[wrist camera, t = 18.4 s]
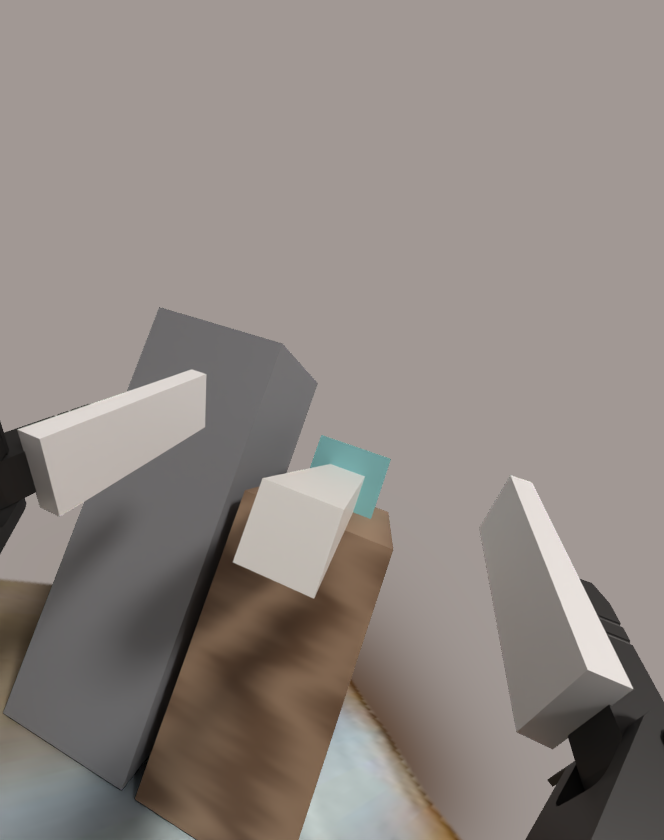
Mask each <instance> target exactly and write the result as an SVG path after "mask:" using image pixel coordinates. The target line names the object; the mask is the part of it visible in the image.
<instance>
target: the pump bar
mask: <svg viewBox="0 0 664 840" xmlns="http://www.w3.org/2000/svg"><path fill="white" fill-rule="evenodd" d="M390 460H391V459H389V458H387V457H384V456H381V455H378V454H375V453H372V452H370V451H367V450H364V449H361V448H358V447H355V446H352V445H349V444H346V443H343V442H341V441H338V440H335V439H332V438H329V437H326V436H323V435H322V436H321V438H320V441H319V444H318V447H317V449H316V452H315V455H314V458H313V461H312V464H311V467H310V468H309V469H304V470H299V471H295V472H290V473H285V474H280V475H275V476H271V477H266V478H262V481H261V484H260V487H259V490H258V492H257V495H256V498H255V501H254V504H253V506H252V509H251V512H250V515H249V518H248V521H247V523H246V526H245V529H244V532H243V535H242V537H241V540H240V543H239V546H238V549H237V552H236V554H235V557H234V560H233V563H236V564H238V565H240V566H242V567H245V568H247V569H249V570H251V571H253V572H256V573H258V574H260V575H262V576H265V577H267V578H269V579H271V580H273V581H276V582H278V583H280V584H282V585H285V586H287V587H289V588H291V589H293V590H296V591H298V592H300V593H302V594H304V595H307V596H309V597H311V598H313V599H314V598H315V595H316V593H317V591H318V589H319V587H320V584H321V582H322V580H323V578H324V575H325V573H326V571H327V569H328V567H329V564H330V562H331V560H332V558H333V556H334V553H335V551H336V549H337V547H338V544H339V542H340V540H341V538H342V536H343V533H344V531H345V529H346V527H347V524H348V522H349V520H350V518H351V516H352V513H353V512H354V513H356V514H359V515H361V516H364V517H367V518H369V519H371V517H372V514H373V511H374V508H375V505H376V502H377V499H378V496H379V493H380V490H381V487H382V484H383V481H384V478H385V475H386V472H387V469H388V466H389V463H390Z"/></svg>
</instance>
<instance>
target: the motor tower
mask: <svg viewBox="0 0 664 840" xmlns="http://www.w3.org/2000/svg"><path fill="white" fill-rule="evenodd" d="M191 369H192V370H195V371H198V372H201V373H204V374H206V410H205V428H203V429H201V430H200V431H198V432H196V433H195V434H193V435H192V436H190V437H188V438H187V439H185V440H183V441H182V442H180V443H179V444H177V445H175V446H174V447H172V448H170V449H169V450H167V451H166V452H164V453H162V454H161V455H159V456H158V457H156V458H154V459H153V460H151V461H149V462H148V463H146V464H145V465H143V466H141V467H140V468H138V469H136V470H135V471H133V472H132V473H130V474H128V475H127V476H125V477H123V478H122V479H120V480H119V481H117V482H115V483H114V484H112V485H110V486H109V487H107V488H106V489H104V490H102V491H101V492H99V493H97V494H96V495H94V496H93V497H91V498H89V499H88V500H86V501H85V502H84V504H83V507H82V510H81V512H80V515H79V517H78V520H77V522H76V525H75V528H74V530H73V533H72V535H71V538H70V541H69V543H68V546H67V548H66V551H65V554H64V556H63V559H62V562H61V564H60V567H59V569H58V572H57V574H56V577H55V580H54V582H53V585H52V587H51V590H50V593H49V595H48V598H47V600H46V603H45V606H44V608H43V611H42V613H41V616H40V619H39V621H38V624H37V626H36V629H35V632H34V634H33V637H32V639H31V642H30V645H29V647H28V650H27V652H26V655H25V658H24V660H23V663H22V665H21V668H20V671H19V673H18V676H17V678H16V681H15V684H14V686H13V689H12V691H11V694H10V697H9V699H8V702H7V704H6V707H5V710H4V712H3V713H4V714H5V715H7V716H8V717H10V718H11V719H13V720H15V721H16V722H18V723H19V724H21V725H22V726H24V727H25V728H27V729H28V730H30V731H31V732H33V733H34V734H36V735H38V736H39V737H41V738H42V739H44V740H45V741H47V742H48V743H50V744H51V745H53V746H54V747H56V748H57V749H59V750H60V751H62V752H64V753H65V754H67V755H68V756H70V757H71V758H73V759H74V760H76V761H77V762H79V763H80V764H82V765H83V766H85V767H86V768H88V769H90V770H91V771H93V772H94V773H96V774H97V775H99V776H100V777H102V778H103V779H105V780H106V781H108V782H109V783H111V784H112V785H114V786H116V787H117V788H119V789H120V790H122V789H123V788H124V787H125V785H126V784H127V783H128V782H129V780H130V779H131V778H132V776H133V775H134V774H135V772H136V771H137V770H138V769H139V767H140V766H141V765H142V763H143V762H144V761H145V759H146V758H147V757H148V756H149V754H150V753H151V752H152V749H153V746H154V744H155V741H156V738H157V735H158V732H159V730H160V727H161V724H162V721H163V718H164V716H165V713H166V710H167V707H168V704H169V702H170V699H171V696H172V693H173V690H174V688H175V685H176V682H177V679H178V676H179V674H180V671H181V668H182V665H183V662H184V660H185V657H186V654H187V651H188V648H189V646H190V643H191V640H192V637H193V634H194V631H195V629H196V626H197V623H198V620H199V617H200V615H201V612H202V609H203V606H204V603H205V601H206V598H207V595H208V592H209V589H210V587H211V584H212V581H213V578H214V575H215V573H216V570H217V567H218V564H219V561H220V559H221V556H222V553H223V550H224V547H225V545H226V542H227V539H228V536H229V533H230V531H231V528H232V525H233V522H234V519H235V517H236V514H237V511H238V508H239V505H240V503H241V500H242V497H243V494H244V491H245V490H248V489H251V488H255V487H259V486H260V484H261V481H262V478H266V477H271V476H275V475H280V474H285V473H286V472H287V469H288V467H289V464H290V461H291V458H292V455H293V453H294V450H295V447H296V444H297V441H298V438H299V435H300V433H301V429H302V427H303V424H304V421H305V418H306V415H307V412H308V410H309V407H310V403H311V401H312V398H313V395H314V392H315V390H316V387H317V382H316V381H315V380H314V379H313V378H312V376H310V374H309V373H308V372H307V371H306V370H305V369H304V367H303V366H302V365H301V364H300V363H299V362H298V361H297V360H296V358H295V357H294V356H293V355H292V354H291V353H290V352H289V351H288V350H287V348H286V347H285V346H284V345H283V344H282V343H278V342H275V341H272V340H268V339H265V338H262V337H258V336H255V335H251V334H248V333H245V332H241V331H238V330H234V329H231V328H228V327H225V326H221V325H218V324H214V323H211V322H208V321H204V320H201V319H197V318H194V317H191V316H187V315H184V314H181V313H177V312H174V311H170V310H167V309H164V308H160V307H159V310H158V312H157V315H156V317H155V320H154V322H153V325H152V328H151V330H150V333H149V335H148V338H147V341H146V343H145V346H144V348H143V351H142V354H141V357H140V359H139V362H138V364H137V367H136V369H135V372H134V375H133V377H132V380H131V382H130V385H129V387H128V390H127V392H128V391H130V390H133V389H136V388H139V387H142V386H145V385H148V384H151V383H154V382H157V381H159V380H162V379H165V378H168V377H171V376H174V375H177V374H180V373H183V372H185V371H188V370H191Z"/></svg>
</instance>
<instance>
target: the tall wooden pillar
mask: <svg viewBox="0 0 664 840" xmlns="http://www.w3.org/2000/svg"><path fill="white" fill-rule="evenodd" d="M259 487H260V486H259ZM259 487H255V488H251V489H248V490H245V491H244V494H243V497H242V500H241V503H240V505H239V508H238V511H237V514H236V517H235V519H234V522H233V525H232V528H231V531H230V533H229V536H228V539H227V542H226V545H225V547H224V550H223V553H222V556H221V559H220V561H219V564H218V567H217V570H216V573H215V575H214V578H213V581H212V584H211V587H210V589H209V592H208V595H207V598H206V601H205V603H204V606H203V609H202V612H201V615H200V617H199V620H198V623H197V626H196V629H195V631H194V634H193V637H192V640H191V643H190V646H189V648H188V651H187V654H186V657H185V660H184V662H183V665H182V668H181V671H180V674H179V676H178V679H177V682H176V685H175V688H174V690H173V693H172V696H171V699H170V702H169V704H168V707H167V710H166V713H165V716H164V718H163V721H162V724H161V727H160V730H159V732H158V735H157V738H156V741H155V744H154V746H153V749H152V752H151V755H150V758H149V760H148V763H147V766H146V769H145V772H144V774H143V777H142V780H141V783H140V786H139V788H138V791H137V794H136V797H135V800H137V801H139V802H140V803H142V804H143V805H145V806H146V807H148V808H149V809H151V810H152V811H154V812H155V813H157V814H158V815H160V816H161V817H163V818H165V819H166V820H168V821H169V822H171V823H172V824H174V825H175V826H177V827H178V828H180V829H181V830H183V831H184V832H186V833H187V834H189V835H191V836H192V837H194V838H195V839H197V840H298V839H299V836H300V833H301V830H302V827H303V824H304V821H305V818H306V815H307V812H308V809H309V806H310V803H311V800H312V796H313V793H314V790H315V787H316V784H317V781H318V778H319V775H320V772H321V769H322V766H323V763H324V760H325V757H326V754H327V751H328V748H329V744H330V741H331V738H332V735H333V732H334V729H335V726H336V723H337V720H338V717H339V714H340V711H341V708H342V705H343V702H344V699H345V696H346V692H347V689H348V686H349V683H350V680H351V677H352V674H353V671H354V668H355V665H356V662H357V659H358V656H359V652H360V650H361V646H362V644H363V640H364V637H365V634H366V631H367V628H368V625H369V622H370V619H371V616H372V613H373V610H374V607H375V604H376V601H377V598H378V594H379V592H380V588H381V585H382V582H383V579H384V576H385V573H386V570H387V567H388V564H389V561H390V558H391V555H392V552H393V544H392V538H391V530H390V522H389V515H388V512H386V511H384V510H381V509H378V508H376V507H375V508H374V511H373V514H372V517H371V519H369V518H367V517H364V516H361V515H359V514H356V513H354V512H353V513H352V516H351V518H350V520H349V522H348V524H347V527H346V529H345V531H344V533H343V536H342V538H341V540H340V542H339V544H338V547H337V549H336V551H335V553H334V556H333V558H332V560H331V562H330V564H329V567H328V569H327V571H326V573H325V575H324V578H323V580H322V582H321V584H320V587H319V589H318V591H317V593H316V595H315V598H314V599H313V598H311V597H309V596H307V595H304V594H302V593H300V592H298V591H296V590H293V589H291V588H289V587H287V586H285V585H282V584H280V583H278V582H276V581H273V580H271V579H269V578H267V577H265V576H262V575H260V574H258V573H256V572H253V571H251V570H249V569H247V568H245V567H242V566H240V565H238V564H236V563H233V560H234V557H235V554H236V552H237V549H238V546H239V543H240V540H241V537H242V535H243V532H244V529H245V526H246V523H247V521H248V518H249V515H250V512H251V509H252V506H253V504H254V501H255V498H256V495H257V492H258V490H259Z"/></svg>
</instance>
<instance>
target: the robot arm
mask: <svg viewBox="0 0 664 840" xmlns="http://www.w3.org/2000/svg"><path fill="white" fill-rule="evenodd" d="M205 410H206V374H204V373H201V372H198V371H195V370H192V369H191V370H188V371H185V372H183V373H180V374H177V375H174V376H171V377H168V378H165V379H162V380H159V381H157V382H154V383H151V384H148V385H145V386H142V387H139V388H136V389H133V390H130V391H128V392H125V393H122V394H119V395H116V396H113V397H110V398H108V399H104V400H101V401H99V402H96V403H93V404H87V405H84V406H81V407H78V408H75V409H72V410H71V411H70V412H69V411H66V412H63V413H60V414H58V415H57V416H52V417H49V418H46V419H43V420H40V421H37V422H34V423H32V424H28V425H25V426H22V427H19V428H17V429H14V430H11V431H8V432H5V433H4V432H3V429H2V425H1V423H0V553H1V551H2V550H3V547H4V546H5V544H6V542H7V541H8V539H9V537H10V535H11V533H12V532H13V530H14V528H15V526H16V524H17V523H18V521H19V519H20V517H21V515H22V513H23V512H24V510H25V507H26V501H25V497H27V496H29V495H31V494H33V493H35V492H36V495H37V499H38V502H39V505H40V507H41V508H43V509H44V510H47V511H49V512H51V513H53V514H55V515H57V516H59V517H60V516H62V515H63V514H65V513H67V512H68V511H70V510H72V509H73V508H75V507H76V506H78V505H80V504H81V503H83V502H85V501H86V500H88V499H89V498H91V497H93V496H94V495H96V494H97V493H99V492H101V491H102V490H104V489H106V488H107V487H109V486H110V485H112V484H114V483H115V482H117V481H119V480H120V479H122V478H123V477H125V476H127V475H128V474H130V473H132V472H133V471H135V470H136V469H138V468H140V467H141V466H143V465H145V464H146V463H148V462H149V461H151V460H153V459H154V458H156V457H158V456H159V455H161V454H162V453H164V452H166V451H167V450H169V449H170V448H172V447H174V446H175V445H177V444H179V443H180V442H182V441H183V440H185V439H187V438H188V437H190V436H192V435H193V434H195V433H196V432H198V431H200V430H201V429H203V428H205ZM479 529H480V535H481V540H482V546H483V551H484V557H485V562H486V568H487V573H488V579H489V584H490V590H491V595H492V601H493V606H494V612H495V617H496V622H497V628H498V634H499V639H500V645H501V650H502V656H503V661H504V667H505V672H506V678H507V683H508V689H509V694H510V699H511V705H512V711H513V716H514V721H515V727H516V732H517V733H519V734H521V735H523V736H526V737H528V738H530V739H532V740H534V741H536V742H538V743H540V744H542V745H545V746H547V747H549V748H551V749H554V748H555V747H556V746H558V745H559V744H560V743H562V742H563V741H564V740H566V739H567V738H569V742H570V745H571V749H572V752H573V756H574V759H575V761H574V762H573V763H571V764H570V765H568V766H567V767H565V768H564V769H562V770H561V771H559V772H558V773H556V774H555V775H553V776H552V777H551V778H549V779H548V781H549V783H550V784H551V785H552V786H554V785H556V784H557V785H556V787H555V788H554V790H553V792H552V794H551V795H550V797H549V799H548V801H547V802H546V804H545V806H544V808H543V810H542V811H541V813H540V815H539V817H538V818H537V820H536V822H535V824H534V826H533V827H532V829H531V831H530V832H529V834H528V836H527V838H526V840H664V702H663V700H662V698H661V696H660V694H659V692H658V691H657V689H656V687H655V685H654V683H653V682H652V680H651V678H650V676H649V674H648V672H647V671H646V669H645V667H644V665H643V663H642V662H641V660H640V658H639V656H638V654H637V652H636V651H635V649H634V647H633V645H631V644H630V640H629V638H628V636H627V634H626V632H625V631H624V629H623V628H622V627H620V621H619V620H618V618H617V616H616V614H615V612H614V611H613V609H612V607H611V605H610V603H609V602H608V601H607V600H606V599H605V598H604V596H603V595H602V594H601V593H600V592H599V591H598V590H597V588H596V587H595V586H594V585H593V584H592V583H590V582H587V581H584V580H582V579H579V577H578V575H577V573H576V571H575V569H574V567H573V565H572V563H571V561H570V559H569V557H568V555H567V553H566V551H565V549H564V547H563V545H562V543H561V540H560V539H559V537H558V534H557V532H556V530H555V528H554V526H553V524H552V522H551V520H550V518H549V516H548V514H547V512H546V510H545V508H544V506H543V504H542V502H541V500H540V498H539V496H538V494H537V492H536V490H535V488H534V486H533V484H532V482H529V481H526V480H523V479H520V478H517V477H514V476H510V477H509V479H508V480H507V482H506V484H505V485H504V487H503V489H502V490H501V492H500V494H499V495H498V497H497V499H496V500H495V502H494V504H493V506H492V507H491V509H490V511H489V512H488V514H487V516H486V517H485V519H484V521H483V522H482V524H481V526H480V527H479Z"/></svg>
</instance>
